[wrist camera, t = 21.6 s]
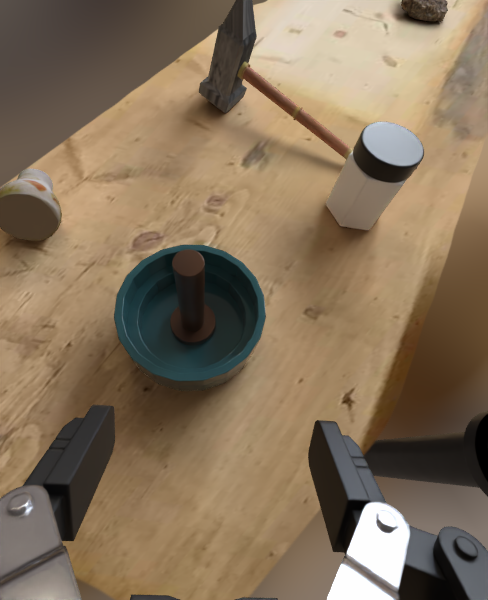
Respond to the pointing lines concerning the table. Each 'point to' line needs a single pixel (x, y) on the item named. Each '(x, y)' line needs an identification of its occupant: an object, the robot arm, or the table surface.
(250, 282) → the bowl
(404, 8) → the concrete sample
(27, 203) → the mug
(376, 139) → the jar
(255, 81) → the hammer
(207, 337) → the brown flanged rod
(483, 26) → the table surface
